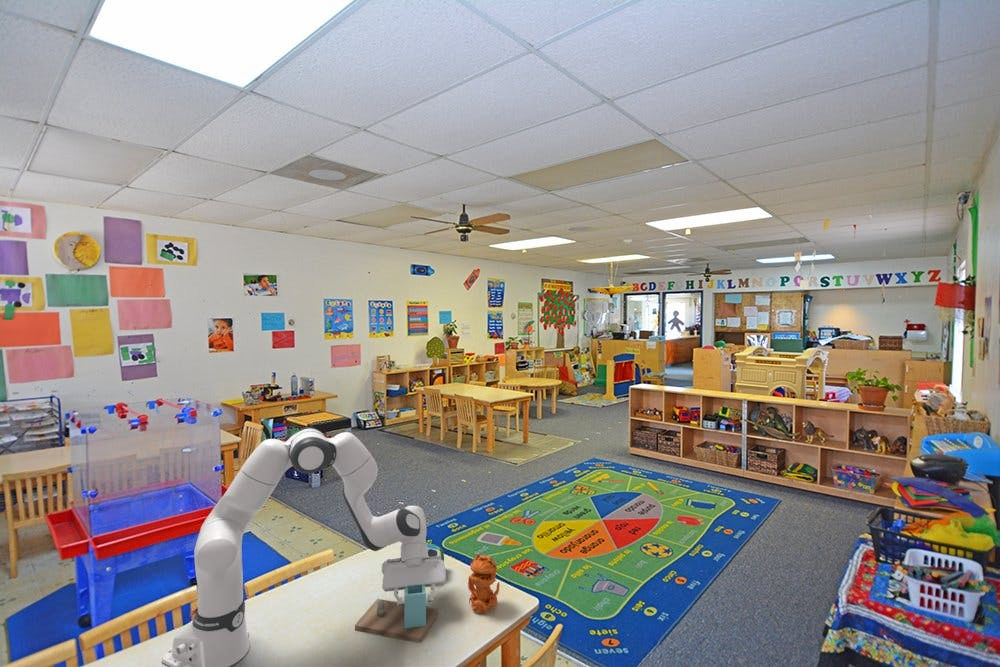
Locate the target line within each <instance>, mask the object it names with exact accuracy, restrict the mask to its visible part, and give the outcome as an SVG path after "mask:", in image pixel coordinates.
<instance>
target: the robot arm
mask: <svg viewBox="0 0 1000 667" xmlns="http://www.w3.org/2000/svg"><path fill="white" fill-rule="evenodd" d="M292 467H293V468H294V469H295V470H296V471H298V472H299V473H302V474H307V475H311V474H315V473H318V472H320V471H322V470H324V469H328V468H329V467H333V468H334V470H335V471H336V473H337V474H338V475H339V477H340V478H341V479H342V480H341V481H342V482H343V487H342V496H343V499H344V501H345V504H346V506H347V508H348V510H349V512H350V514H351V516H352V518H353V520H354V522H355V524H356V526H357V528H358V530H359V533H360V536H361V541H363V545H364V546H365V547H366V548H367V549H369V550H371V551H373V552H377V551H381V550H382V549H385V548H386V547H388V546H391V545H393V544H396V543H399V542H400V543H401V545H400V557H398V558H392V559H390V558H389V559H386V560H385V561H383V563H382V565H381V573H382V574H383V575H382V576H383V577H382V590H383V591H384V592H393V595H394V598H395V599H396V600H397V601H396V602H397V606H401V605H402V603H403V597H399V591H403V590H404V587H410V586H419V585H425V588H428V587H430V590H431V593H430V594H427V602H428V603H431V602H433V600H434V593H435V592H436V589H437V588H436V587H437V586H444V585H446V582H447V572H446V567H445V562H443V560H442V559H441V551H440V550H436V549H431V548H428V547H427V544H428V543H427V540H426V539H427V538H426V537H427V530H428V529H427V520H426V514H425V512H424V510H423V508H422V507H421V506H417V505H408V506H406V507H404V508H399V509H396V510H393V511H391V512H388V513H386V514H383V515H381V516H374V515H373V514H372V511H371V509H370V507H369V506H368V504H367V502H366V500H365V497H364V496H365V494H366V493H367V492H368V491H369V490H370V488H372V486H373V485H374V483H375V482H376V481H377V477H378V473H379V467H378V464H377V461H376V460H375V459H374V457H373V455H372V453H370V451H369V450H368V449H367V447H366V446H365V445H364V444H363V443H362V442H361V440H360V439H359V438H358V437H357V436H356V435H354V434H353V433H352V432H350V431H345V432H340V433H338V434H336V435H334V436H332V437H326V436H325V435H324V433H323V432H322V431H321V430H320V429H318V428H316V427H312V426H307V427H302V428H300V429H298V430H297V431H295V432H293V433H292V434H290V435H289V436H287V437H285V439H283V440H280V439H276V438H267V439H265V440H263V441H262V442H260V444H258V446H257V447H256V448H255V449H254V450H253V451H252V452H251V454H250V455H249V456H248V457H247V459H246V460H245V462H244V463H243V464H242V466H241V468H240V469H239V471H238V472H237V474H236V476H235V478H233V480H232V482H231V483H230V485H229V487H228V488H227V490H226V491H225V493H224V494H223V496H221V498H220V499H219V501H218V502H217V503H216V504H215V506H214V507H213V509H212V510H211V511H210V513H209V514H208V516H207V517H206V518H205V519H204V522H203V523H202V525H201V526H200V530H199V533H198V536H197V539H196V542H195V546H194V550H193V553H194V554H193V556H194V568H195V578H196V584H197V607H196V608H194V609H193V610H192V611H191V612H189V614H190V615H189V617H193V619H192V620H191V621H189V622H188V623H187V624H185V626H183V627H182V628H181V629H179V631H178V632H177V633H176V634H175V636H174V637H173V641H172V646H171V647H170V648H168V649H167V650H166V652H165V653H164V654H163V656H162V658H161V662H162V664H165V665H167V666H168V667H231V666H232V665H234V664H236V663H239V661H240V660H241V659H243V658H244V657H245V656H246V655H247V654H248V652H249V651H250V647H251V642H250V638H249V634H250V632H249V629H248V628H247V621H246V620H247V619H246V599H245V597H244V576H243V575H244V574H243V573H244V572H243V552H242V551H243V550H242V548H243V547H242V546H243V545H242V544H243V536H244V534H245V530H246V529H247V528H248V526H249V525H250V523H251V522H252V521H253V519H254V518H255V517H256V516H257V514H259V512H261V511H262V510H263V508H264V506H265V505H266V503H267V501H268V500H269V498H270V497H271V496H272V494H273V492H274V490H275V489H276V487H277V485H278V483H279V482H280V481H281V479H282V476H283V475H284V474H285V473H286V471H288V470H289V469H291V468H292ZM193 615H194V616H193Z"/></svg>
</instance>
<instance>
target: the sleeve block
mask: <svg viewBox="0 0 1000 667" xmlns="http://www.w3.org/2000/svg"><path fill="white" fill-rule="evenodd" d="M403 592H404V595H403V596H404V599H403V603H404V620H405V628H411V627H419V626H426V607H427V590H426V587H425V585H419V586H410V587H404V591H403Z"/></svg>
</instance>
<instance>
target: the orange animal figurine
mask: <svg viewBox="0 0 1000 667" xmlns="http://www.w3.org/2000/svg"><path fill="white" fill-rule="evenodd" d="M495 561H496V560H494V559H493V557H490V556H487V555H485V554H482V555H481V554H476V557H474V558H473V559H472V560H471V563H470V570H471V572H472V573H471V574H470V575H469V576H468V582H467V587H468V591H469V592H470V593H471V594H470V597H469V599H468V604H471V609H472V611H474V610H475V611H477V612H478V613H488V612H489V611H490V610H491V609H492V606H493V607H494V609H497V606H498V597H497V596H498V595H499V592H500V582H499V581H498V582H497V583H496V590H495V591H494V590H493V589H492V588H491V586H492V585H494V583H495V582H496V581H497V578H496V577H497V576H496V575H497V570H498V567H497V564H496V562H495Z"/></svg>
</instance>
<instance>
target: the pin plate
mask: <svg viewBox="0 0 1000 667" xmlns="http://www.w3.org/2000/svg"><path fill="white" fill-rule="evenodd" d="M438 615H439V609H438V608H432V607H427V606H426V626H419V627H411V628H405V620H404V602H402V605H401V606H397V601H393V600H387V599H382V598H377V599H376V600H375V601H374V602H373V603H372V605H371V606H370V607H369V608H368V609H367V610H366V612H365V613H364V614H363V615H362V616H361V618H360V619H358V621H357V622H356V623H355V624H354V630H355V631H358V632H362V633H363V632H364V633H367V634H368V633H369V634H373V635H374V634H375V635H379V636H382V637H383V636H384V637H390V638H393V639H399V640H404V641H408V642H412V643H413V642H414V643H420V644H422V642H423V640H424V638H425V637H426V636H427V634H428V633H429V632H428V631H429V630H430V628H431V627H432V625H433V624H434V622H435V620H436V618H437V617H438Z"/></svg>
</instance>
